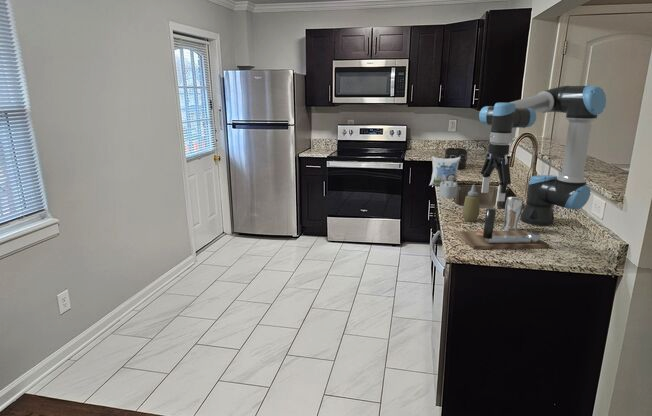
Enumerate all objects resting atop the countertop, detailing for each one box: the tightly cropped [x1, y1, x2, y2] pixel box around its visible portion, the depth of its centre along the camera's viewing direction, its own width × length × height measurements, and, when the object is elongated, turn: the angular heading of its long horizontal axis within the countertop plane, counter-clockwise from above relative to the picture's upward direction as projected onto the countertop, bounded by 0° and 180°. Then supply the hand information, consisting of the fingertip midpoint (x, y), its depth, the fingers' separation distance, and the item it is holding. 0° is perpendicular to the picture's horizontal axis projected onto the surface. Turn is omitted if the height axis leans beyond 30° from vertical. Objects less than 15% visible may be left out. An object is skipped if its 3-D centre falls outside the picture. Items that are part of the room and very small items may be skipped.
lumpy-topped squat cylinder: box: [438, 181, 459, 199], centre depth 255 cm, size 10×13×9 cm
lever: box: [483, 207, 542, 243], centre depth 173 cm, size 24×5×14 cm, turn 95°
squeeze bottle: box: [462, 184, 481, 223], centre depth 206 cm, size 8×8×18 cm
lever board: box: [456, 229, 550, 250], centre depth 181 cm, size 32×20×2 cm, turn 95°
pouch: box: [428, 156, 461, 186], centre depth 279 cm, size 8×19×20 cm, turn 86°
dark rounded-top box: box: [444, 147, 469, 171], centre depth 345 cm, size 18×18×16 cm
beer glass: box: [503, 196, 524, 231], centre depth 193 cm, size 7×7×15 cm
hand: (492, 196), depth 168 cm, fingers open, 13 cm apart
